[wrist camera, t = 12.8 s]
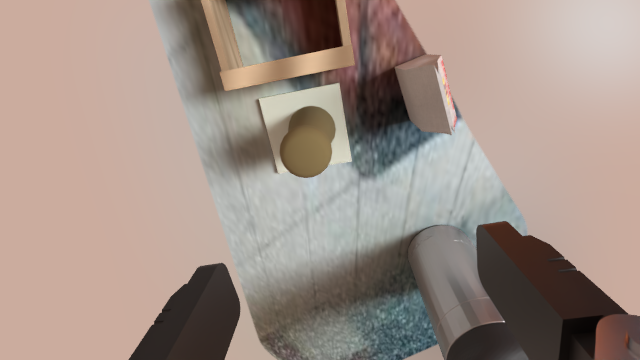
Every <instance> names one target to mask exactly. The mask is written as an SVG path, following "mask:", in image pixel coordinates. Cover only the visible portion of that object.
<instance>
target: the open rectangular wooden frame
mask: <svg viewBox="0 0 640 360" xmlns="http://www.w3.org/2000/svg"><path fill="white" fill-rule="evenodd" d="M201 2H202V6H203V9H204V13H205V16H206V19H207V23H208V26H209V30H210V33H211V36H212V40H213V43H214V46H215V50H216V53H217V57H218V60H219V63H220V67H221V70H222V72H219V73H220V76H221V79H222V83H223V86H224V89H225V91H228V90H233V89H238V88H243V87H248V86H253V85H258V84H263V83H268V82H273V81H278V80H283V79H287V78H292V77H297V76H302V75H307V74H312V73H317V72H322V71H327V70H332V69H337V68H342V67H347V66H352V65H355V64H354V57H353V50H352V44H351V39H350V32H349V25H348V18H347V11H346V4H345V0H335V4H336V11H337V18H338V24H339V31H340V37H341V44H342V47H337V48H332V49H328V50H323V51H318V52H313V53H309V54H304V55H299V56H294V57H289V58H285V59H280V60H275V61H270V62H266V63H261V64H256V65H251V66H247V67H243V64H242V60H241V57H240V53H239V49H238V45H237V42H236V38H235V34H234V31H233V27H232V23H231V20H230V16H229V12H228V8H227V5H226V1H225V0H201Z"/></svg>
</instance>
